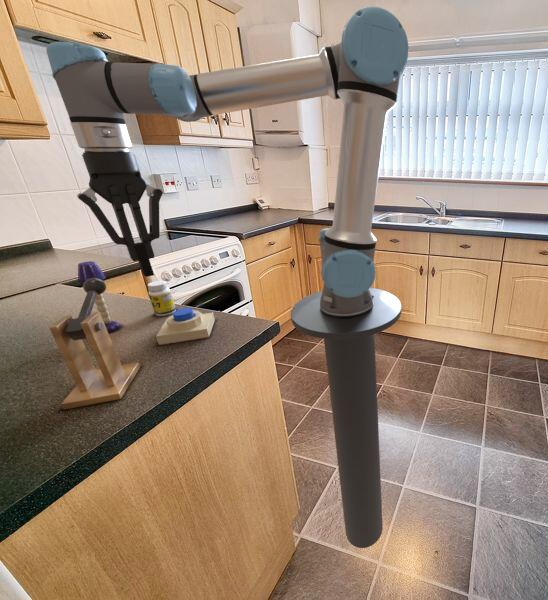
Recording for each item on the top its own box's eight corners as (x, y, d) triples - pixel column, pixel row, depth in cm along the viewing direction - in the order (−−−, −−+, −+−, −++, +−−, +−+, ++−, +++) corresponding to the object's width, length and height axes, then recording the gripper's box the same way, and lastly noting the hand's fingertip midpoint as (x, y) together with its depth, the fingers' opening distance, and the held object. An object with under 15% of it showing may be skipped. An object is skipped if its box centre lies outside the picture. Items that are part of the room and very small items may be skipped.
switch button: (196, 313, 81) (194, 307, 80) (192, 320, 77) (190, 313, 76) (177, 316, 79) (175, 309, 79) (172, 323, 76) (170, 316, 75)
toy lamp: (115, 323, 84) (90, 259, 77) (128, 325, 83) (104, 260, 76) (94, 332, 80) (65, 265, 73) (107, 335, 78) (80, 267, 72)
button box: (214, 320, 85) (211, 306, 83) (209, 337, 77) (204, 321, 76) (169, 326, 82) (164, 312, 80) (158, 344, 74) (153, 329, 73)
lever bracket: (91, 375, 64) (61, 310, 59) (140, 367, 67) (116, 304, 61) (63, 410, 56) (25, 337, 50) (120, 399, 58) (90, 328, 52)
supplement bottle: (151, 314, 88) (141, 284, 85) (168, 307, 92) (159, 278, 89) (163, 317, 87) (153, 287, 83) (180, 310, 91) (171, 281, 87)
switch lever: (91, 287, 64) (81, 275, 62) (111, 285, 65) (102, 273, 63) (70, 342, 56) (59, 331, 54) (94, 339, 57) (83, 327, 55)
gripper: (60, 150, 54) (112, 287, 63) (155, 150, 62) (188, 271, 72) (57, 150, 58) (105, 278, 68) (146, 150, 67) (178, 263, 77)
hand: (148, 274), depth 70 cm, fingers closed
